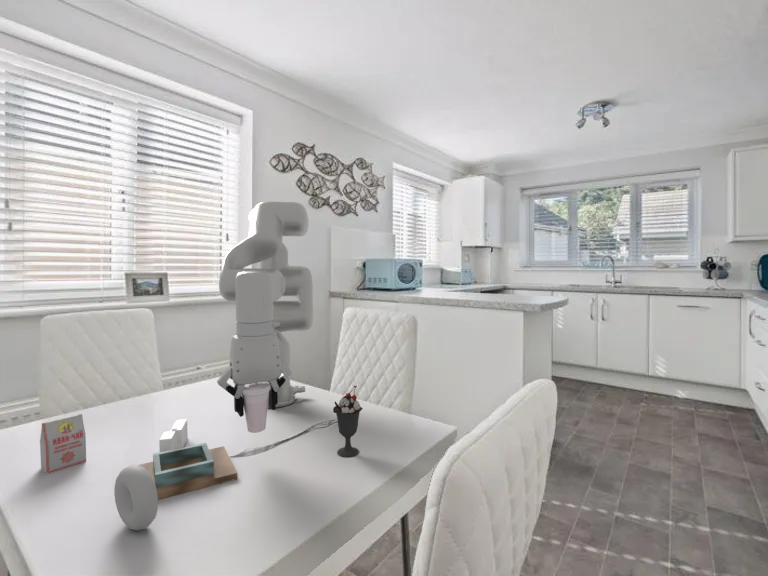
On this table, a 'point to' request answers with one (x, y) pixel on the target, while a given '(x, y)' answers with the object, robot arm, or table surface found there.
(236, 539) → the table surface
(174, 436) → the white stepped block
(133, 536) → the table surface
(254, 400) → the smoothie
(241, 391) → the robot arm
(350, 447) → the sundae
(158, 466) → the holder board
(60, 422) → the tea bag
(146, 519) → the donut
